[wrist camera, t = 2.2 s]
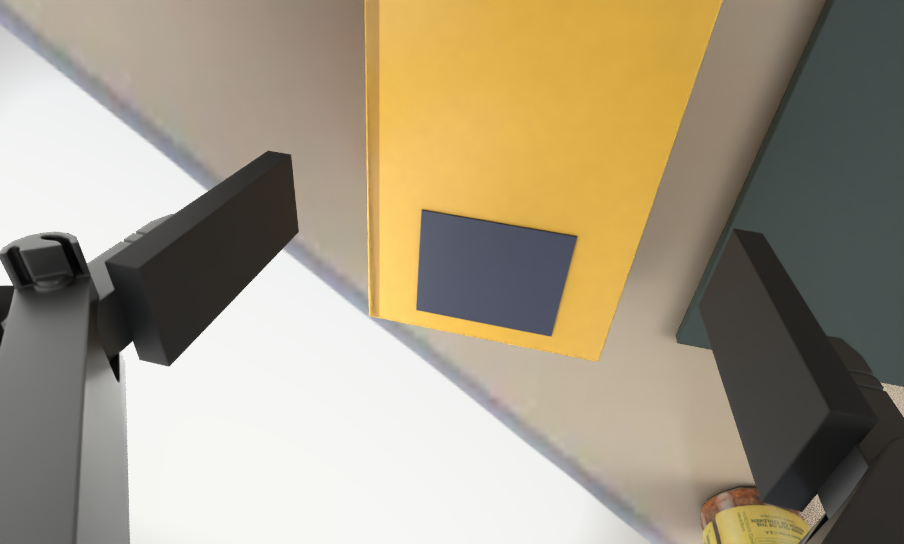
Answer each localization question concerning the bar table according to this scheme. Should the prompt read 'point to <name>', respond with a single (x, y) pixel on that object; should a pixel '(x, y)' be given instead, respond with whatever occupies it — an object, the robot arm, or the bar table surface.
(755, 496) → the sauce bottle
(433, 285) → the yellow box with panel
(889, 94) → the desk mat
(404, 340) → the bar table surface
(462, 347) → the bar table surface
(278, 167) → the robot arm
